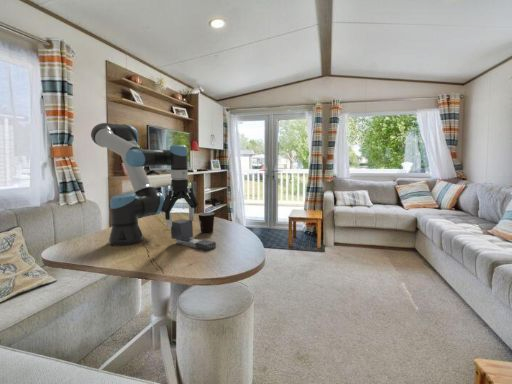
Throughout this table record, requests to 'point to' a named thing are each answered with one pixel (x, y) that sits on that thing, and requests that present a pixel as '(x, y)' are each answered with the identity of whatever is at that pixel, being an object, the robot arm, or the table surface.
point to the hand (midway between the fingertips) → (181, 223)
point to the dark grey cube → (182, 229)
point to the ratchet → (197, 243)
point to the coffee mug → (206, 222)
